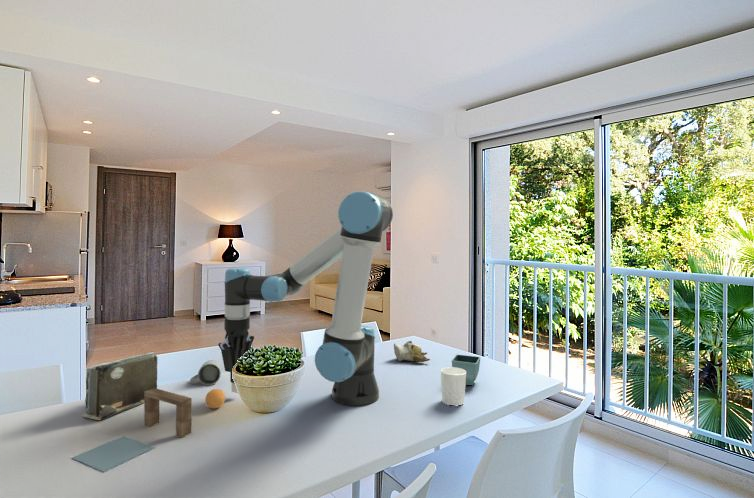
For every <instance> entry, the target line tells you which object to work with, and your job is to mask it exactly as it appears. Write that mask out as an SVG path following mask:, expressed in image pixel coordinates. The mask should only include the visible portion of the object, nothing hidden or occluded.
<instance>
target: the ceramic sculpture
mask: <svg viewBox="0 0 754 498" xmlns="http://www.w3.org/2000/svg"><path fill="white" fill-rule="evenodd" d="M393 351H394V352H393V353H394V355H395V359H396V360H397V361H398V362H401V361H408V360H409V361H408V362H413V361H415V362H418V363H424V362H425V363H426V362H428V361H431V359H430V358H427V357H426V355H427V354H428V352H426V351H425V352H423V351H422V347H421V346H420V345H419V344H417V343H413V342H412V340H409V341H407V342H405V343H404V344H403V345H401V344H398V343H393Z"/></svg>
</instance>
